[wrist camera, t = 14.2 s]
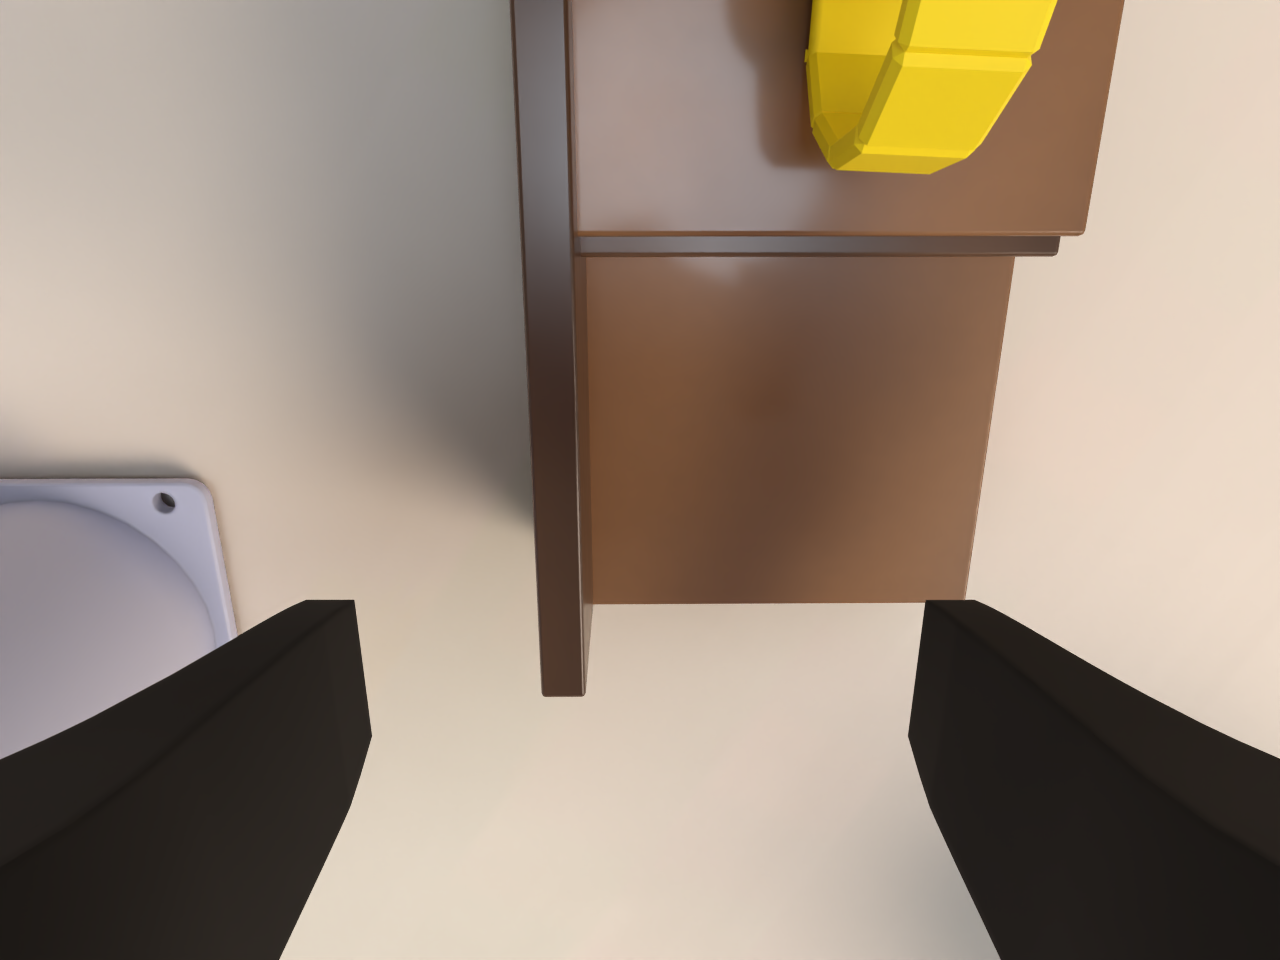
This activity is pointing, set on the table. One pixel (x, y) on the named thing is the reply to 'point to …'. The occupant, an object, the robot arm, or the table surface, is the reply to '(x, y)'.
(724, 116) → the step shelf
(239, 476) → the table surface
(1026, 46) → the watch
